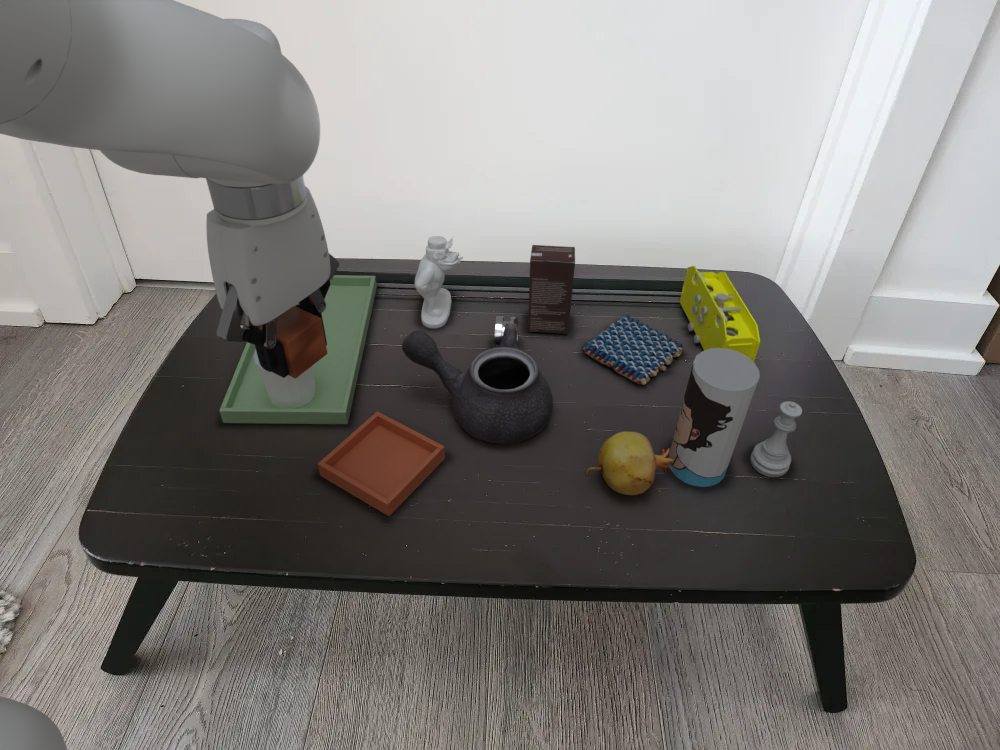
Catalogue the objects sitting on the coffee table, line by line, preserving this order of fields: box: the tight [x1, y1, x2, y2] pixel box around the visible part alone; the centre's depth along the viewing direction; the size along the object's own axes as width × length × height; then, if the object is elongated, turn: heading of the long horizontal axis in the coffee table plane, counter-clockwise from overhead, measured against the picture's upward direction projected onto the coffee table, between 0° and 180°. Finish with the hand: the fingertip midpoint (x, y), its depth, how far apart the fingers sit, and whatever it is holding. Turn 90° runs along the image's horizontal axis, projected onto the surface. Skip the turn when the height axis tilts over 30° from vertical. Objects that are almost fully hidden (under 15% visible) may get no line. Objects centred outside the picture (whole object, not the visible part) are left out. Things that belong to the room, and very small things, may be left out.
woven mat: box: [583, 314, 684, 386], centre depth 99 cm, size 10×11×2 cm
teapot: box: [401, 324, 554, 444], centre depth 88 cm, size 19×15×10 cm
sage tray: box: [219, 274, 378, 425], centre depth 99 cm, size 29×15×2 cm, turn 0°
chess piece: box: [749, 400, 803, 478], centre depth 82 cm, size 4×4×10 cm
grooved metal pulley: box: [493, 315, 519, 348], centre depth 98 cm, size 5×3×5 cm, turn 175°
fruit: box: [584, 430, 675, 496], centre depth 80 cm, size 7×7×10 cm
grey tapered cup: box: [253, 350, 315, 409], centre depth 89 cm, size 7×7×7 cm
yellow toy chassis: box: [679, 265, 761, 363], centre depth 100 cm, size 16×6×8 cm, turn 7°
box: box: [527, 244, 576, 335], centre depth 100 cm, size 6×4×12 cm
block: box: [259, 306, 328, 379], centre depth 70 cm, size 4×4×4 cm
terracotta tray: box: [317, 410, 446, 517], centre depth 83 cm, size 10×10×2 cm
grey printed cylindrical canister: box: [667, 348, 761, 488], centre depth 80 cm, size 7×7×15 cm
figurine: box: [414, 235, 464, 329], centre depth 102 cm, size 9×7×12 cm
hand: (294, 355), depth 71 cm, fingers closed on block, 4 cm apart
